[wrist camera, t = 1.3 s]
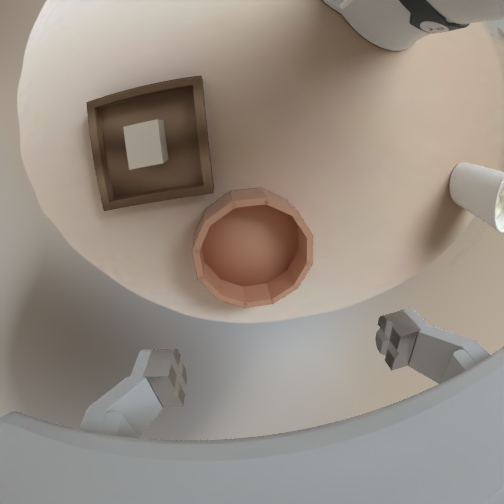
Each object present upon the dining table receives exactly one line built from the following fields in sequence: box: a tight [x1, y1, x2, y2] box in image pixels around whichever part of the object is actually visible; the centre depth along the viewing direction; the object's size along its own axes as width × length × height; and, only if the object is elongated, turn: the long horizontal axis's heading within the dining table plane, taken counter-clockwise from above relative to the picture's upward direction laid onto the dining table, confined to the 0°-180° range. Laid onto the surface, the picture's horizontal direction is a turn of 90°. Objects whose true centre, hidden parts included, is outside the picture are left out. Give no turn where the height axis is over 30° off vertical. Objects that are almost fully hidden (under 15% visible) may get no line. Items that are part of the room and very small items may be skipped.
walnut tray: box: [87, 76, 214, 211], centre depth 29 cm, size 14×14×3 cm
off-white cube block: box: [123, 119, 169, 170], centre depth 27 cm, size 5×4×4 cm
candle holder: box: [449, 162, 504, 232], centre depth 32 cm, size 10×10×12 cm
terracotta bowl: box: [192, 188, 313, 308], centre depth 35 cm, size 15×15×5 cm
